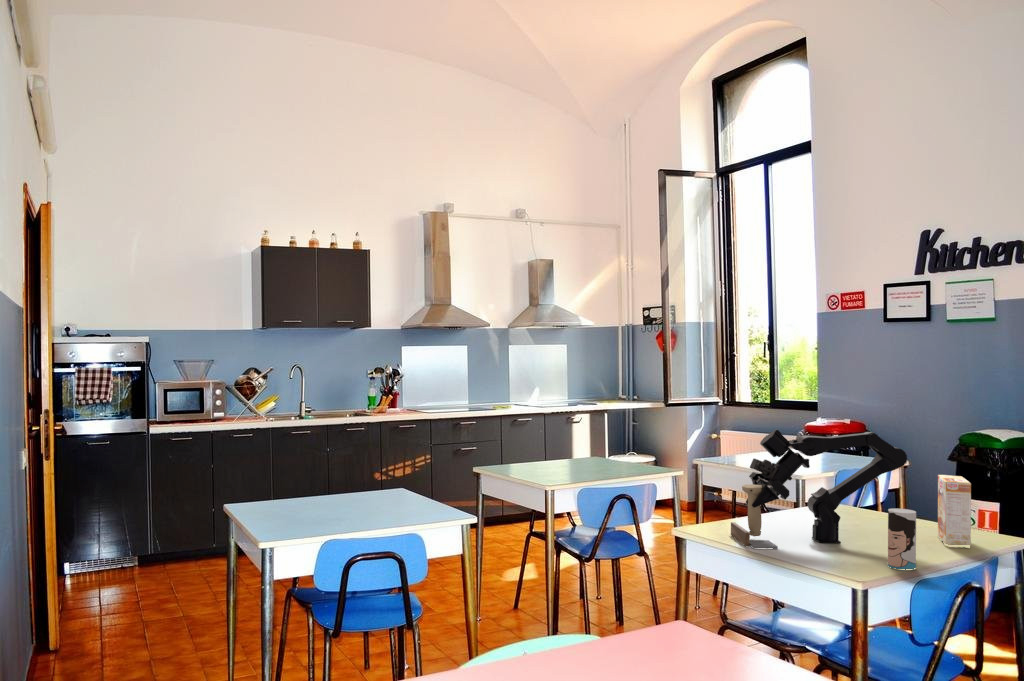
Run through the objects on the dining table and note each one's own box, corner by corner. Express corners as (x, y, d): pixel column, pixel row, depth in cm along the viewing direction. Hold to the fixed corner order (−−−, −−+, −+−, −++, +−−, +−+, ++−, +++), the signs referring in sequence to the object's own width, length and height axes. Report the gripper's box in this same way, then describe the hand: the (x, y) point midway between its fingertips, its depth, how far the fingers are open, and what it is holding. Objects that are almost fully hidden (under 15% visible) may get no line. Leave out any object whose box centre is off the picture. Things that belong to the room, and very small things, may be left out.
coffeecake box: (936, 536, 257) (937, 474, 258) (962, 538, 255) (962, 475, 255) (944, 547, 243) (944, 481, 244) (971, 549, 241) (972, 482, 241)
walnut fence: (734, 535, 255) (734, 522, 255) (749, 546, 240) (749, 532, 240) (730, 535, 255) (730, 522, 255) (745, 546, 240) (745, 532, 240)
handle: (764, 538, 246) (762, 488, 245) (742, 536, 249) (740, 487, 248) (767, 534, 250) (765, 485, 249) (746, 532, 253) (744, 484, 252)
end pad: (768, 542, 245) (768, 540, 245) (777, 549, 237) (777, 546, 237) (745, 542, 245) (745, 539, 245) (754, 549, 237) (754, 546, 237)
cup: (888, 563, 223) (888, 507, 223) (915, 566, 220) (916, 510, 220) (887, 568, 217) (887, 511, 217) (915, 572, 214) (916, 514, 214)
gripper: (755, 446, 259) (721, 481, 258) (778, 453, 240) (742, 491, 239) (779, 471, 259) (745, 506, 258) (805, 479, 240) (768, 518, 239)
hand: (749, 505), depth 249 cm, fingers closed on handle, 4 cm apart
